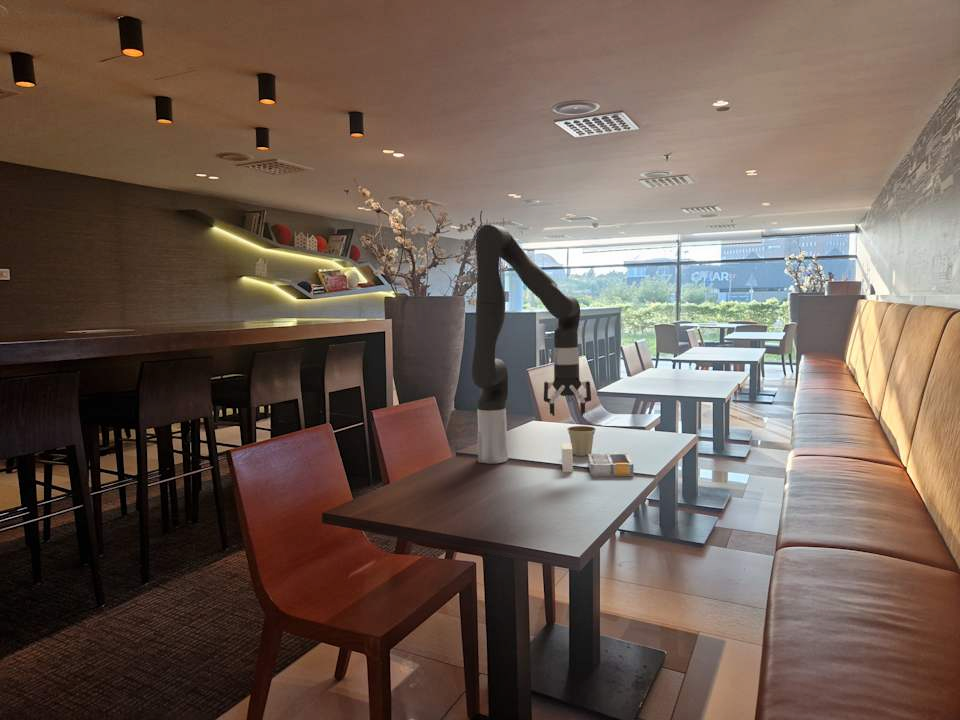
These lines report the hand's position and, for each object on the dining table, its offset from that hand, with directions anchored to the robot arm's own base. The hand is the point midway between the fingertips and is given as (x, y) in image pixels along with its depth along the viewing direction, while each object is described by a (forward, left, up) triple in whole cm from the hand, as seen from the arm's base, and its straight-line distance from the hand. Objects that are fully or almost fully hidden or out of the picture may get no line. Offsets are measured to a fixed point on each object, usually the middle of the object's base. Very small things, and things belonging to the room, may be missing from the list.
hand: (567, 415), depth 190 cm
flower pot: (+5, +17, -17) cm, 24 cm away
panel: (0, -1, -16) cm, 16 cm away
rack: (+12, -4, -16) cm, 21 cm away
